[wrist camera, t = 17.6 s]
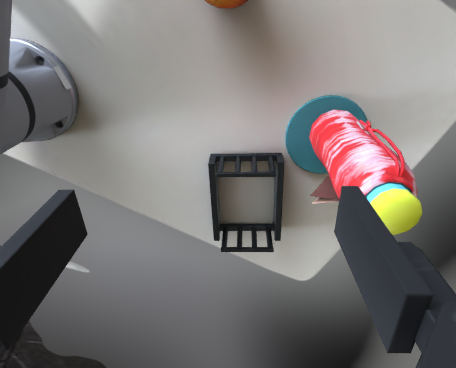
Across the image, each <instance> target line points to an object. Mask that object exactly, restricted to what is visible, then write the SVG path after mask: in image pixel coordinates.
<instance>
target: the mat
mask: <svg viewBox="0 0 456 368" xmlns="http://www.w3.org/2000/svg"><path fill="white" fill-rule="evenodd" d="M331 110H342V111H348V112H349V113H351V114H352V115H353V116H354V117H356V118H357V119H358V120H359V121H360V120H362V121H363V122H365V123H366V122H367V119H366V116H365V114H364V112H363V111H362V109H361V108H360V107H359V106H358V105H357V104H355V103H354V102H353V101H351V100H349V99H347V98H344V97H340V96H323V97H319V98H316V99H313V100H311V101H309V102H308V103H306V104H304V105H303V106H302V107H301V108H300V109H299V110H298V111H297V112H296V113H295V114H294V115H293V117H292V118H291V120H290V122H289V124H288V127H287V131H286V147H287V150H288V153H289V155H290V157H291V158H292V160H293V161H294V162H295V163H296V164H297V165H298V166H299V167H301V168H303V169H305V170H307V171H310V172H314V173H328V172H327V170H326V168H325V166H324V165H323V164H322V162H321V161H320V160H319V158H318V157H317V156H316V154H315V152H314V149H313V147H312V144H311V141H310V138H309V136H310V131H311V127H312V124H313V123H314V122H315V121H316V119H317V118H318V117H319V116H320V115H322V114H324V113H326V112H329V111H331ZM366 124H367V123H366ZM367 125H368V124H367Z"/></svg>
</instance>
